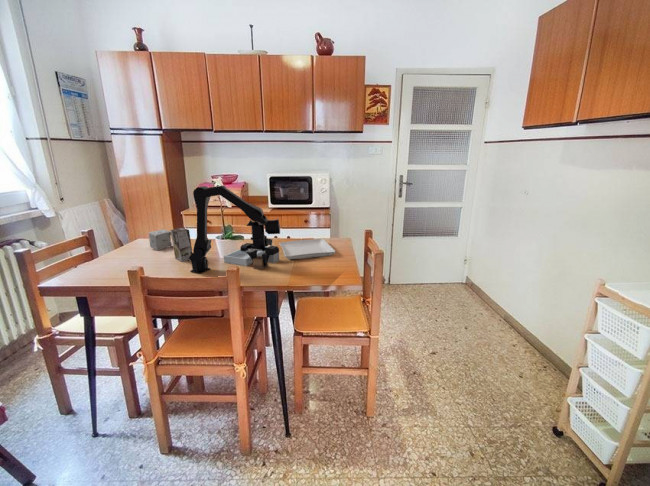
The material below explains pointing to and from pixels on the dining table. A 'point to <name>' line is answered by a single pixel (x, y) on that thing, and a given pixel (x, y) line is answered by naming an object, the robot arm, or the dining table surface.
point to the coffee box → (181, 244)
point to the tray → (240, 257)
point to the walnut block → (259, 263)
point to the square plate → (306, 248)
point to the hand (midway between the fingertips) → (260, 265)
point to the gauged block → (273, 258)
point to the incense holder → (160, 239)
